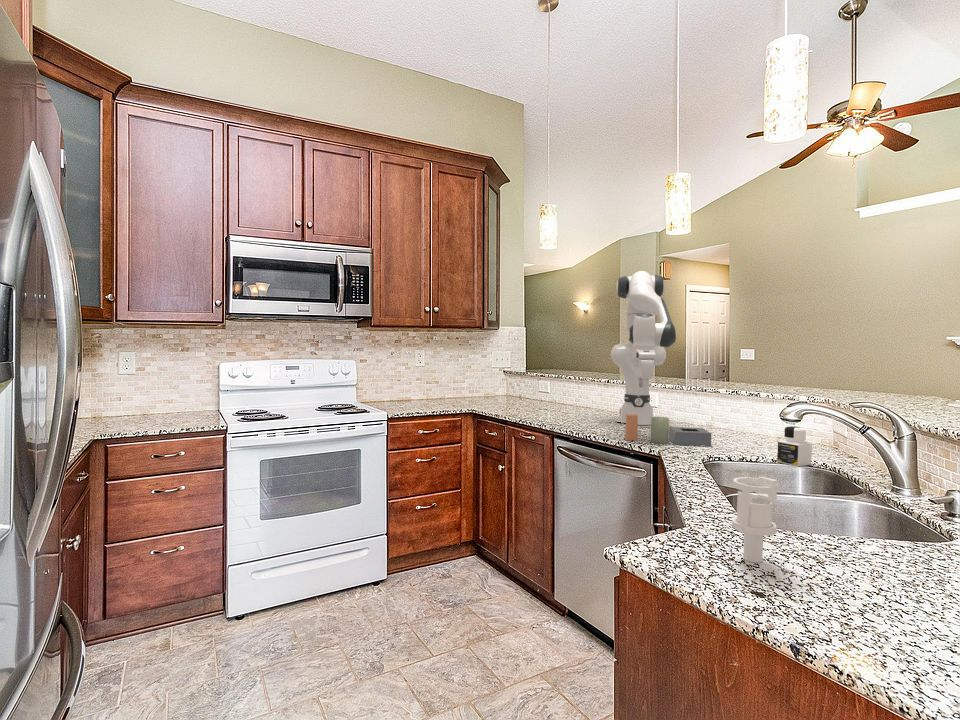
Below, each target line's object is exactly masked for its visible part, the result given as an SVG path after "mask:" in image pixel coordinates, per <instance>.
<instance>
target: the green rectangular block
mask: <svg viewBox="0 0 960 720" xmlns="http://www.w3.org/2000/svg"><path fill="white" fill-rule="evenodd" d="M669 427H670V418H669V417H667V416H653V417H651V425H650V444H651V443H654V444H653V445H655V444H662V445H661V446H665V445H664V444H668V445H669V441H670V440H669Z"/></svg>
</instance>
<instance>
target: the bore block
mask: <svg viewBox="0 0 960 720" xmlns="http://www.w3.org/2000/svg"><path fill="white" fill-rule="evenodd" d="M669 439H670V440H671V441H670V440H669V441H670V442H672V443H673V444H674V445H675V446H688V445H705V446H704V447H712V432H710V431H708V430H707V429H705V428H703V427H685V426H684V427H682V426H681V427H680V426H678V427H677V426H669Z"/></svg>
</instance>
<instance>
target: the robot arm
mask: <svg viewBox="0 0 960 720" xmlns="http://www.w3.org/2000/svg"><path fill="white" fill-rule="evenodd" d="M665 289H666V283H665V280H664V278H663V277H662V276H661V275H657V274H655V275H653V274H650V273H649V272H647V271H645V270H639V271H636V272H634V273H633V274H632V275H629V276H627V275H624V276H620V277H619V278H618V280H617V282H616V283H615V291H616V293H617V296H618V297H619V298H620V299H628V303H627V309H626V310H627V312H626V330H627V332H628V333H629V338H628V341H629V342H623V343H618V344H615V345H614V346H613V347H612V349H611V351H610V358H611V361H612V362H613V363H614V364H615V365H616V366H617V367H618V368H619V369H620V370H621V372H622V373H623V376H624V381H625V393H624V397H623V400H624V403H622V405H621V407H620V408H619V409H618V412H619V417H618V419H617V420H616V423H617V422H621V423H620V424H624V423H626V414H636V415H637V416H638V426H651V417H654V407H653V406H652V405H651V404H650V402H651V395H650V379H652V378H653V374H654V367H655V366H661V365H662V364H663V363H665V361H666V358H667V351H666V349H665V348H669V347H671V346H673V345H674V343H676V340H677V331H676V327H675V324H673V322H672V319H671V315H670V313H669V310H668V307H667V305H666V301H665V300H664V298H662V297H661V296H663V294H664V292H665ZM655 315H656V316H655ZM655 317H657V318H658V321H659V322H656V318H655Z"/></svg>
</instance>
